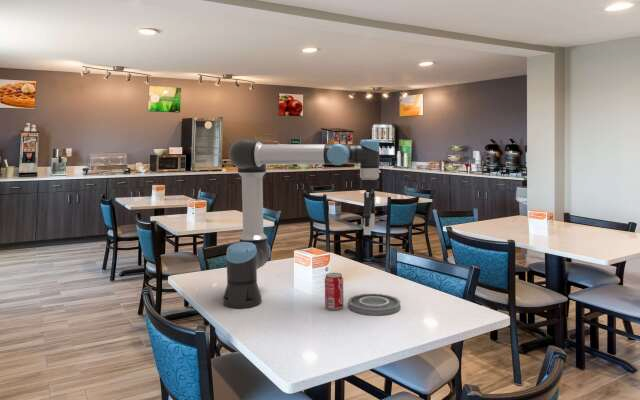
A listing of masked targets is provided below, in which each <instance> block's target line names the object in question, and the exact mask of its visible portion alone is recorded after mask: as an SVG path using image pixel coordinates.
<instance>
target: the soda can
mask: <svg viewBox="0 0 640 400" xmlns="http://www.w3.org/2000/svg"><path fill="white" fill-rule="evenodd" d="M324 307H325V308H326V309H328V310H331V311H338V310H341V309H342V308H343V307H344V277H343V274H342V273H340V272H329V273H326V274H325V277H324Z"/></svg>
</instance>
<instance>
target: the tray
mask: <svg viewBox="0 0 640 400" xmlns="http://www.w3.org/2000/svg"><path fill="white" fill-rule="evenodd" d="M347 307H348V309H349V310H350V311H351V312H353V313H356V314H359V315H364V316H377V317H378V316H379V317H380V316H388V315H393V314H396V313H398V312H400V310H401V300H399V299H398V298H397V297H394V296H391V295H388V294H383V293H361V294H357V295H353V296H351V297H349V299H348V301H347Z"/></svg>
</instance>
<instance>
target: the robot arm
mask: <svg viewBox="0 0 640 400" xmlns="http://www.w3.org/2000/svg"><path fill="white" fill-rule="evenodd" d="M380 153H381V152H380V142H379V140H378V139H361V140H360V143H359V144H342V143H333V144H332V143H331V144H330V143H329V144H327V143H325V144H323V143H322V144H321V143H319V144H314V143H313V144H310V143H308V144H306V143H305V144H301V143H300V144H297V143H295V144H291V143H290V144H286V143H285V144H283V143H282V144H281V143H280V144H278V143H277V144H275V143H274V144H264V143H262V142H260V141H259V140H252V139H240V140H237V141H236V142H234V143H233V144H232V145H231V147H230V149H229V153H228V156H229V160H230V162H231V163H232V165H234V166H235V167H236V168H237V174H238V175H239V176H240V177H241V200H242V203H241V204H242V205H241V206H242V234H241V235H240V236H239V242H236V243H235V242H234V243H232V244H230V245H229V246H228V247H227V249H226V255H225V257H226V280H227V281H226V282H227V283H226V288H225V290H224V294H223V299H222V305H223V306H225V307H227V306H228V308H230V307H232V308H231V309H248V307H249V308H253V307H257V306H258V305H260V304H262V294H261V290H260V287H259V286H258V271H257V270H258V269H260V268H262V267H263V266H265V265H266V264H267V262H268V261H269V259H270V257H271V254H272V253H271V247H270V245H269V244H268V236H267V235H266V234H265V233H264V197H263V195H264V189H263V188H264V187H263V185H264V184H263V183H264V182H263V177H264V175H266V173H267V165H333V166H341V165H348V164H349V165H358V164H359V178H360V179H359V183H360V184H359V188H360V189H361V190H365V192H364V193H363V213H362V215H361V218H362V219H363V236H371V235H372V230H375V229H376V228H375V227H376V226H375V224H376V223H375V220H376V219H375V217H376V215H375V214H377V210H376V202H375V200H376V199H375V197H376V193H375V190H379V188H380V180H379V179H380V173H382V171H381V170H380Z"/></svg>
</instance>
